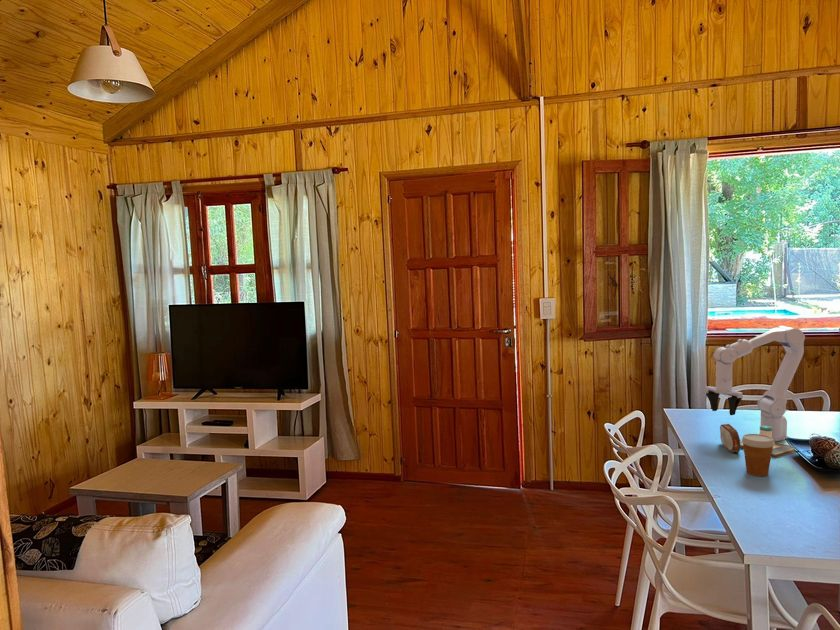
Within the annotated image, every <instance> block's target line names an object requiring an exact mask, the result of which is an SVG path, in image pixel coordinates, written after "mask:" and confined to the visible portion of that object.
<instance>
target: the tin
mask: <svg viewBox="0 0 840 630" xmlns="http://www.w3.org/2000/svg"><path fill="white" fill-rule="evenodd" d="M719 433H720V434H719V435H720V436H719V437H720V440H721V444H722V445H723V446H724V447H725V448H726V449H727V450H728V451H729V452H730V453H739V452H740V451H741V448H740V441H741V439H740V435H739V432H738V430H737V429H736V428H735V427H733V426H732V425H731V424H729V423H723V424H720V426H719Z"/></svg>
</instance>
